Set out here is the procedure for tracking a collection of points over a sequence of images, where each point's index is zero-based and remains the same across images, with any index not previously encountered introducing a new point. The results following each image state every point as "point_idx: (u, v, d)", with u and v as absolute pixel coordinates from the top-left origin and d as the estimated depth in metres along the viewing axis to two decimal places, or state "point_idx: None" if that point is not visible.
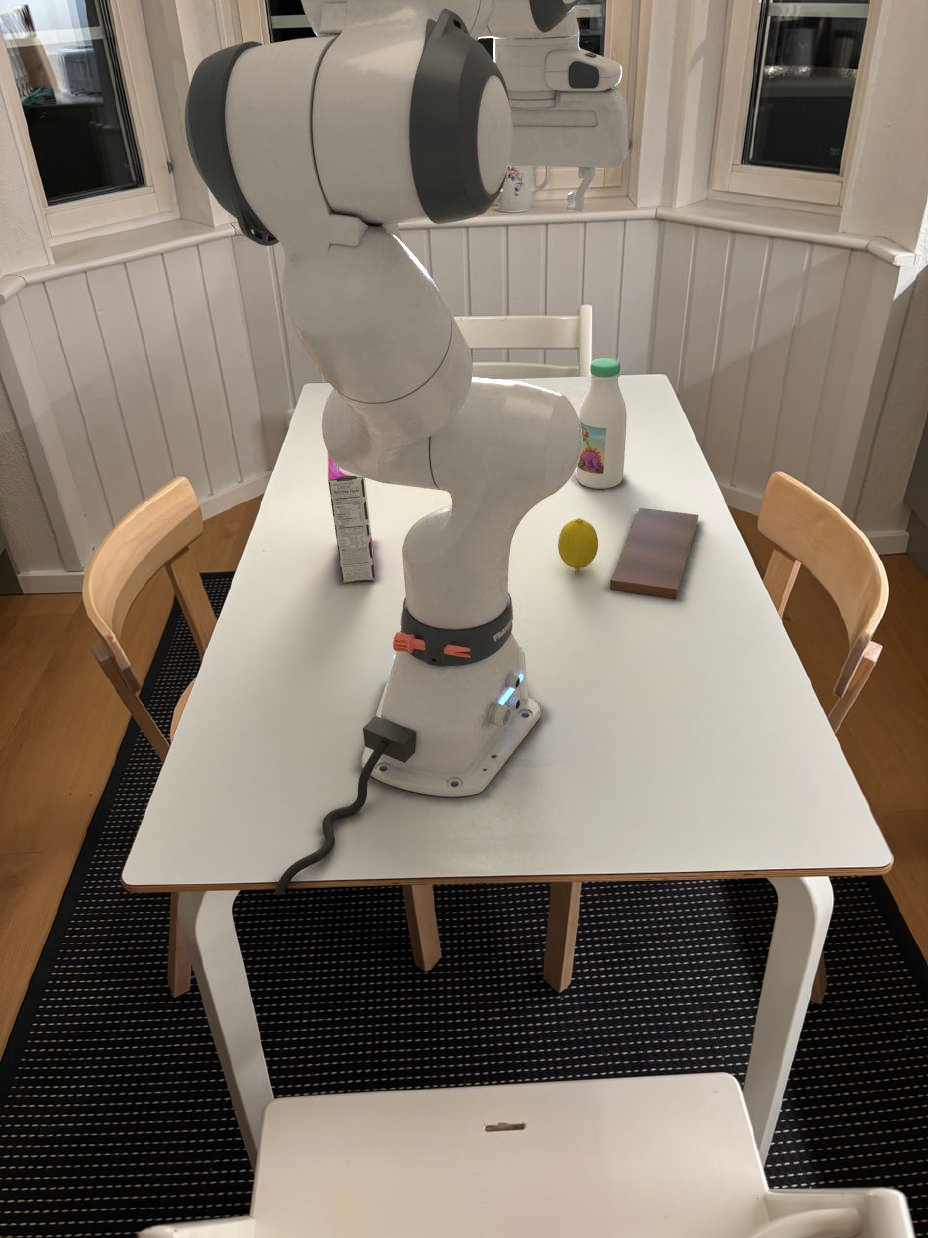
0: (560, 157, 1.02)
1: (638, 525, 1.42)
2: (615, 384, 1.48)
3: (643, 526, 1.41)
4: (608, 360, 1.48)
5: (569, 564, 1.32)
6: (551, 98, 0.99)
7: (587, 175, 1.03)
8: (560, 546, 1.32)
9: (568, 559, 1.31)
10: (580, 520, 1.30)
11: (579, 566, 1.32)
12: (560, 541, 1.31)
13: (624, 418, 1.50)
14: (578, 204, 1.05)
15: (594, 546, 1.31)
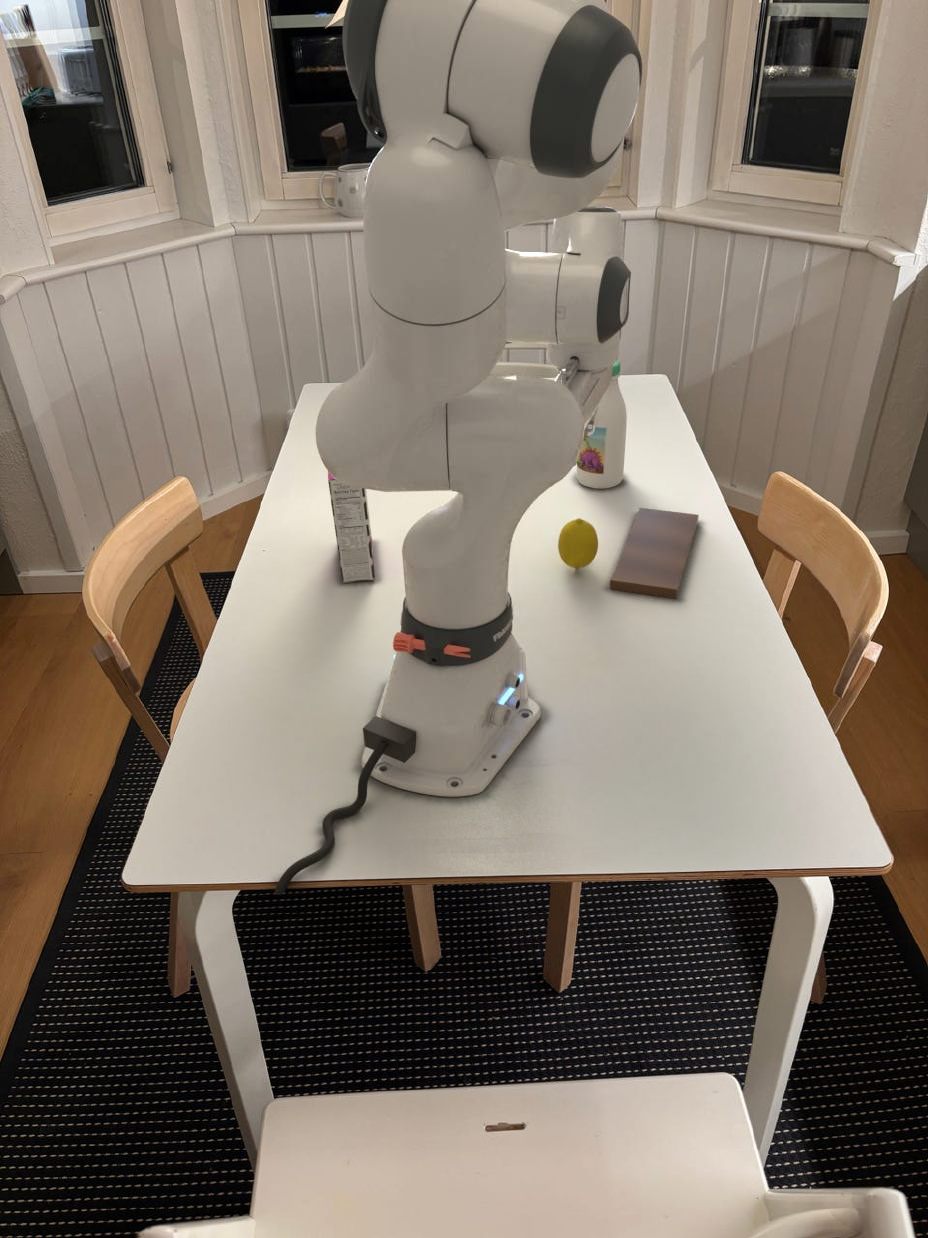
0: (600, 399, 1.24)
1: (638, 525, 1.42)
2: (615, 384, 1.48)
3: (643, 526, 1.41)
4: None
5: (569, 564, 1.32)
6: None
7: None
8: (560, 546, 1.32)
9: (568, 559, 1.31)
10: (580, 520, 1.30)
11: (579, 566, 1.32)
12: (560, 541, 1.31)
13: (624, 418, 1.50)
14: (594, 427, 1.28)
15: (594, 546, 1.31)
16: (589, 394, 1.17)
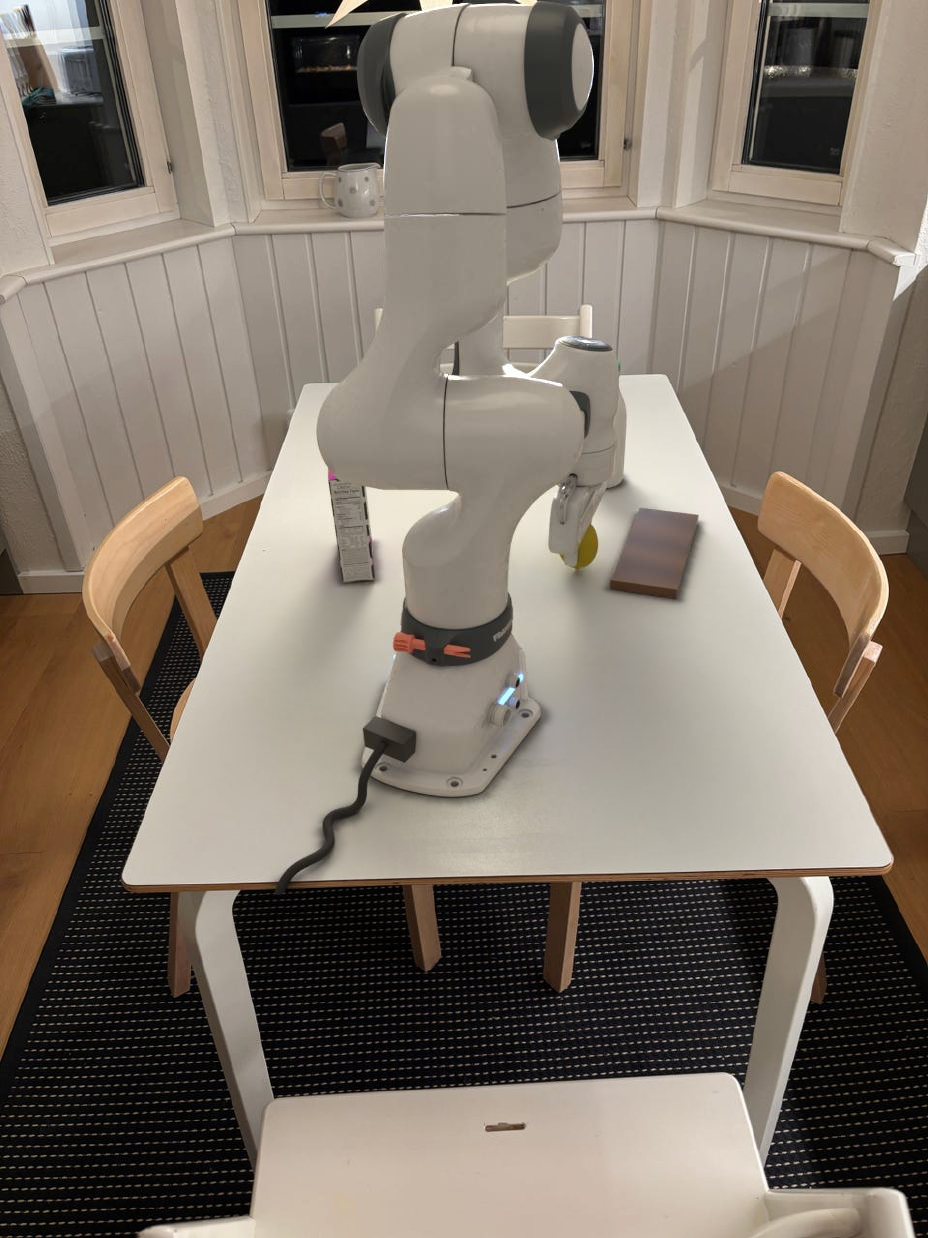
0: (597, 506, 1.32)
1: (638, 525, 1.42)
2: None
3: (643, 526, 1.41)
4: None
5: None
6: None
7: None
8: None
9: None
10: None
11: (579, 566, 1.32)
12: None
13: (624, 418, 1.50)
14: None
15: (595, 547, 1.31)
16: (587, 505, 1.26)
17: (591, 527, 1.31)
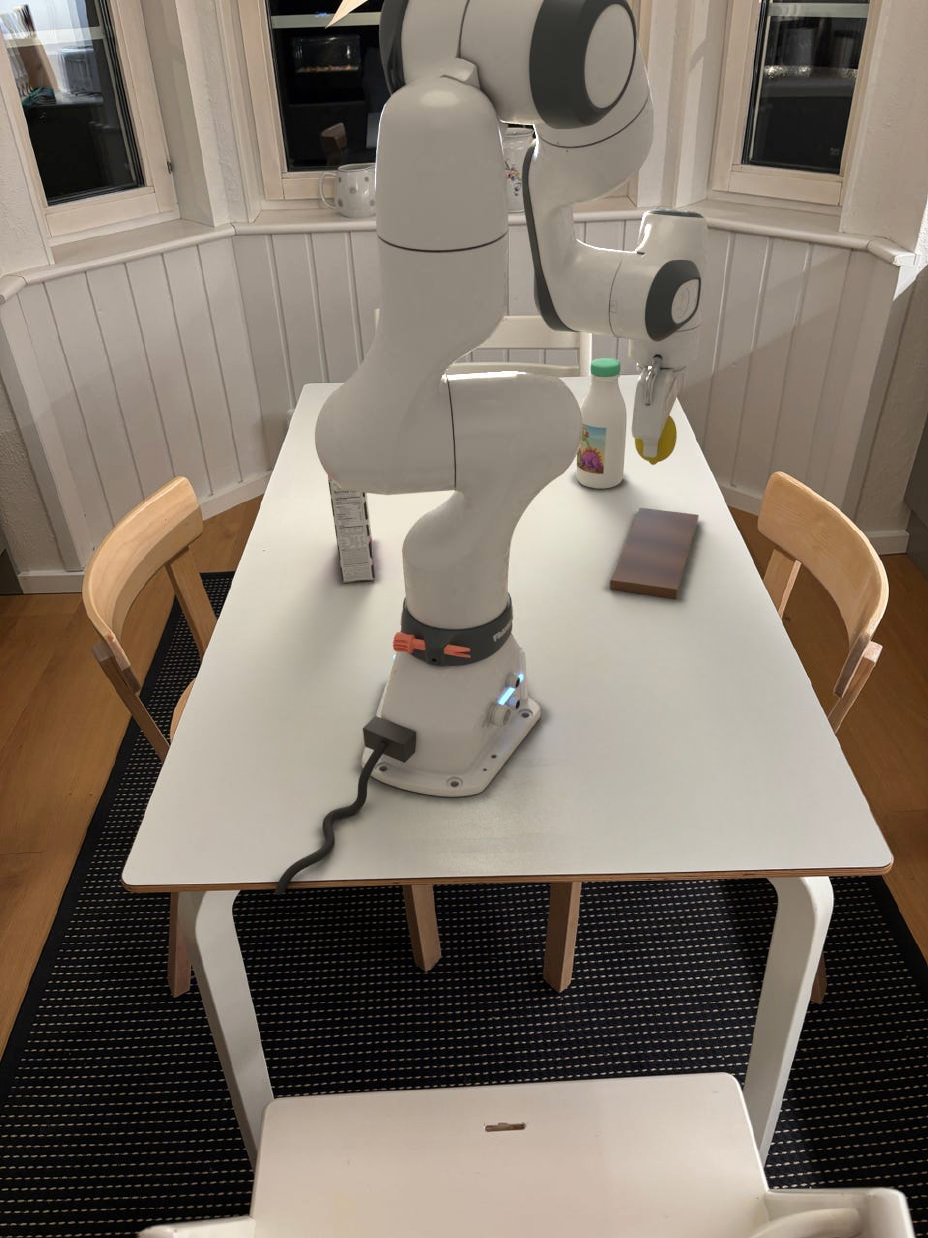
0: (675, 397, 1.28)
1: (638, 525, 1.42)
2: (616, 384, 1.48)
3: (643, 526, 1.41)
4: (608, 360, 1.48)
5: (646, 457, 1.28)
6: None
7: None
8: None
9: None
10: None
11: (657, 459, 1.28)
12: None
13: (624, 418, 1.50)
14: None
15: (674, 438, 1.27)
16: (669, 391, 1.22)
17: (670, 417, 1.26)
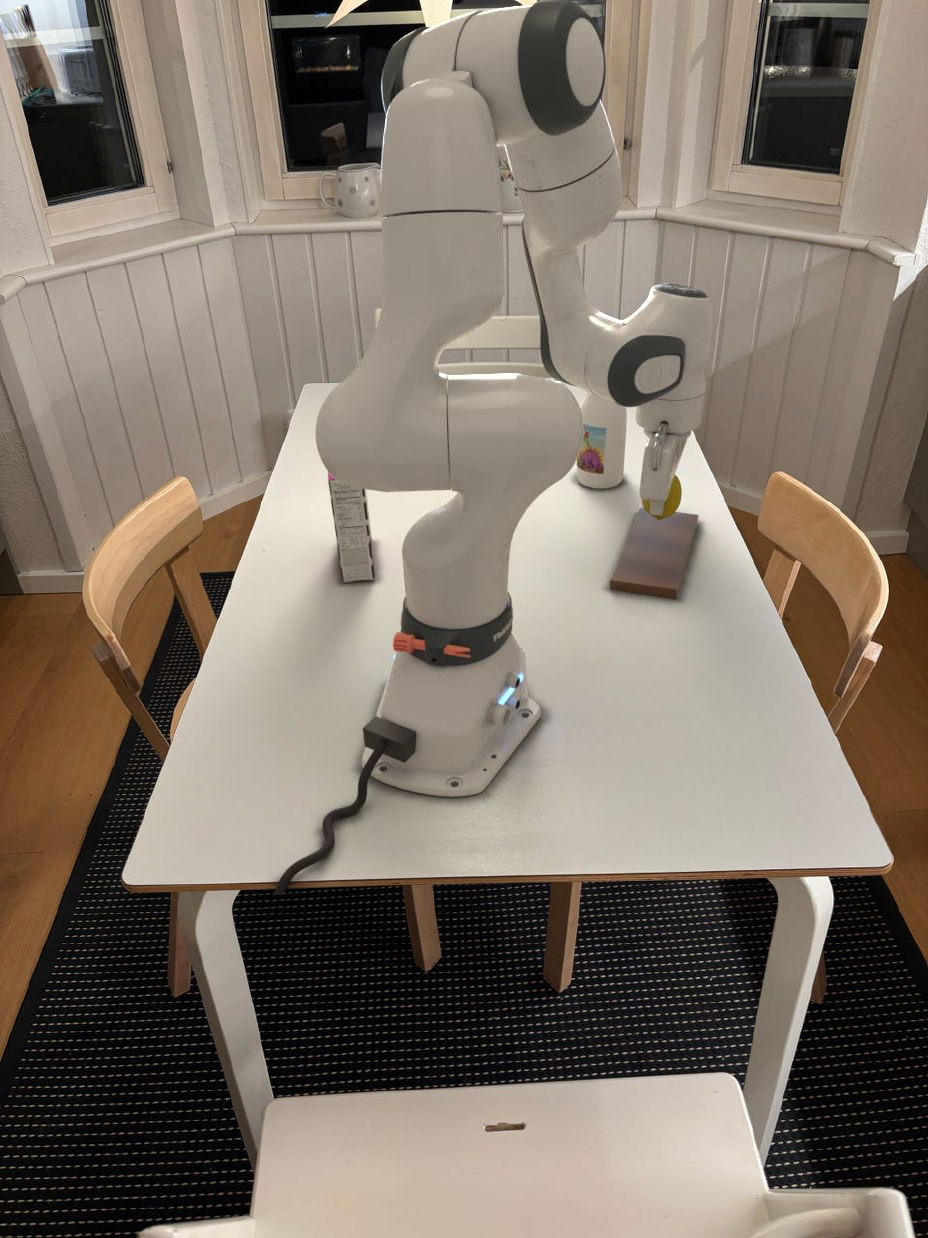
0: (680, 456, 1.34)
1: (638, 525, 1.42)
2: None
3: (643, 526, 1.41)
4: None
5: None
6: None
7: None
8: None
9: None
10: None
11: (663, 516, 1.34)
12: None
13: (624, 418, 1.50)
14: None
15: (679, 496, 1.33)
16: (675, 454, 1.28)
17: (676, 477, 1.32)
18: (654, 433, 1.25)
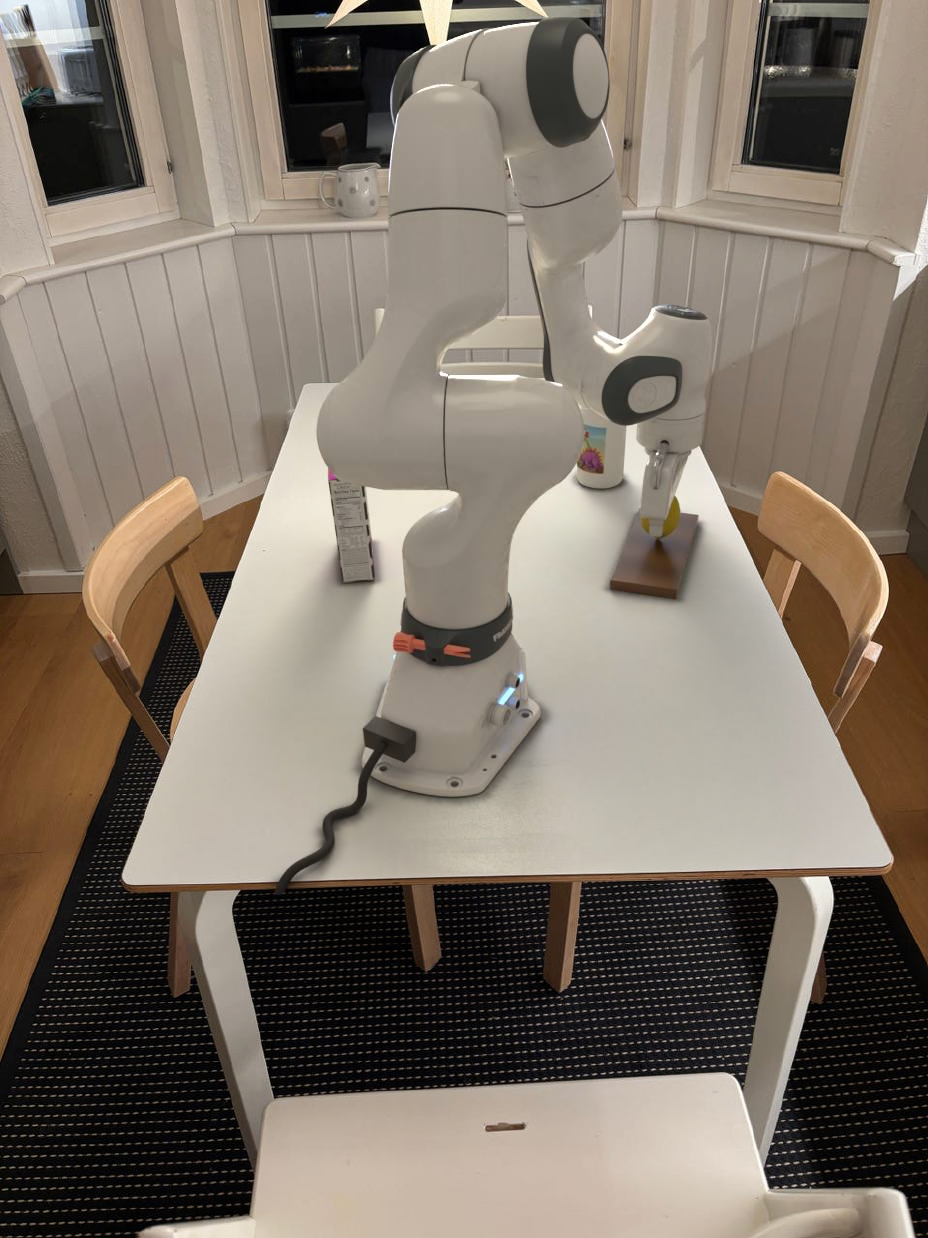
0: (681, 474, 1.35)
1: (638, 525, 1.42)
2: None
3: None
4: None
5: None
6: None
7: None
8: None
9: None
10: None
11: None
12: None
13: None
14: None
15: (677, 516, 1.34)
16: (675, 472, 1.29)
17: (674, 497, 1.34)
18: (654, 452, 1.26)
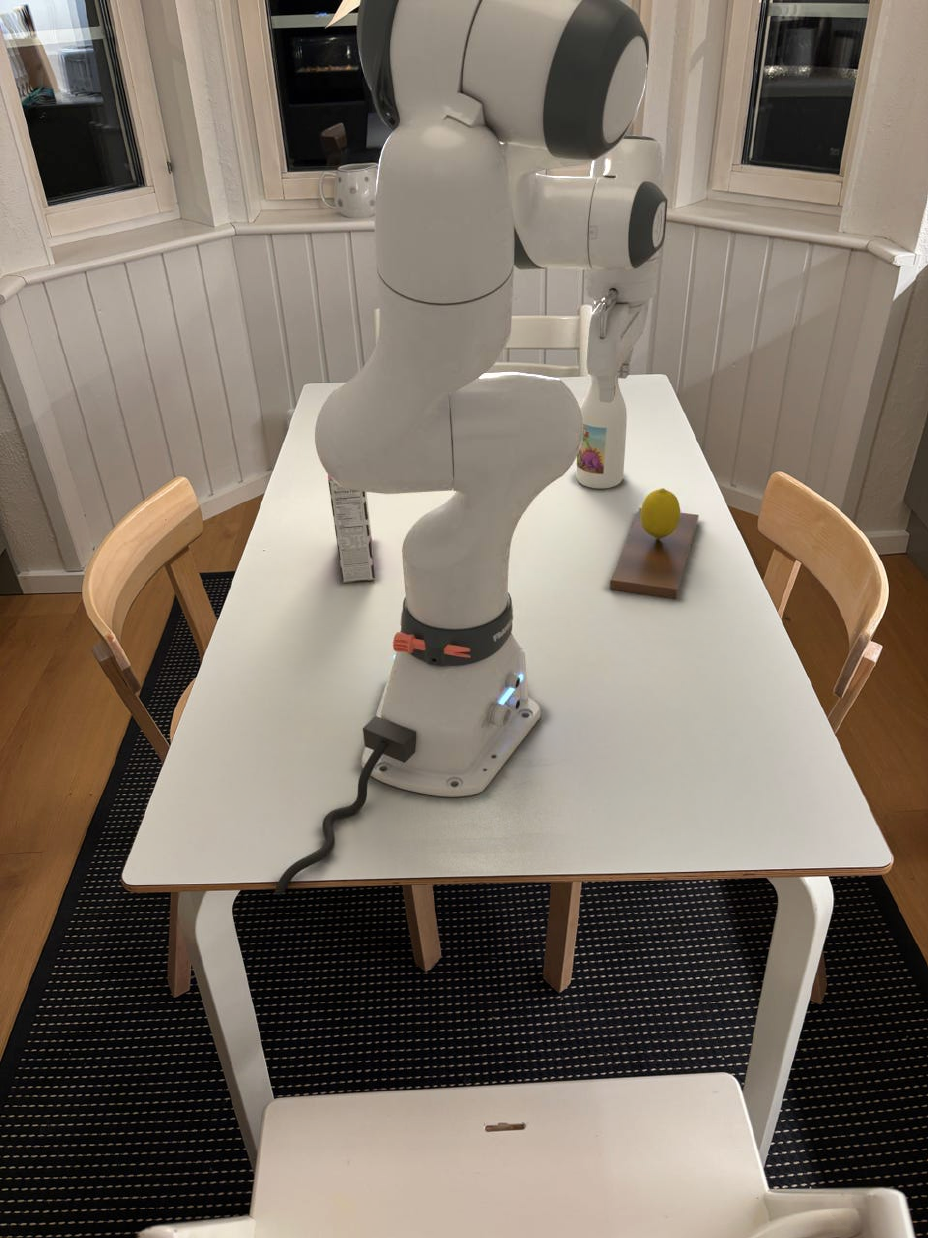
0: (635, 339, 1.24)
1: (638, 525, 1.42)
2: (616, 384, 1.48)
3: None
4: None
5: (652, 533, 1.36)
6: None
7: (633, 346, 1.28)
8: (643, 516, 1.35)
9: (652, 528, 1.35)
10: (664, 490, 1.34)
11: (661, 535, 1.36)
12: (643, 511, 1.35)
13: (624, 418, 1.50)
14: (629, 370, 1.29)
15: (677, 516, 1.34)
16: (627, 329, 1.18)
17: (674, 497, 1.34)
18: None
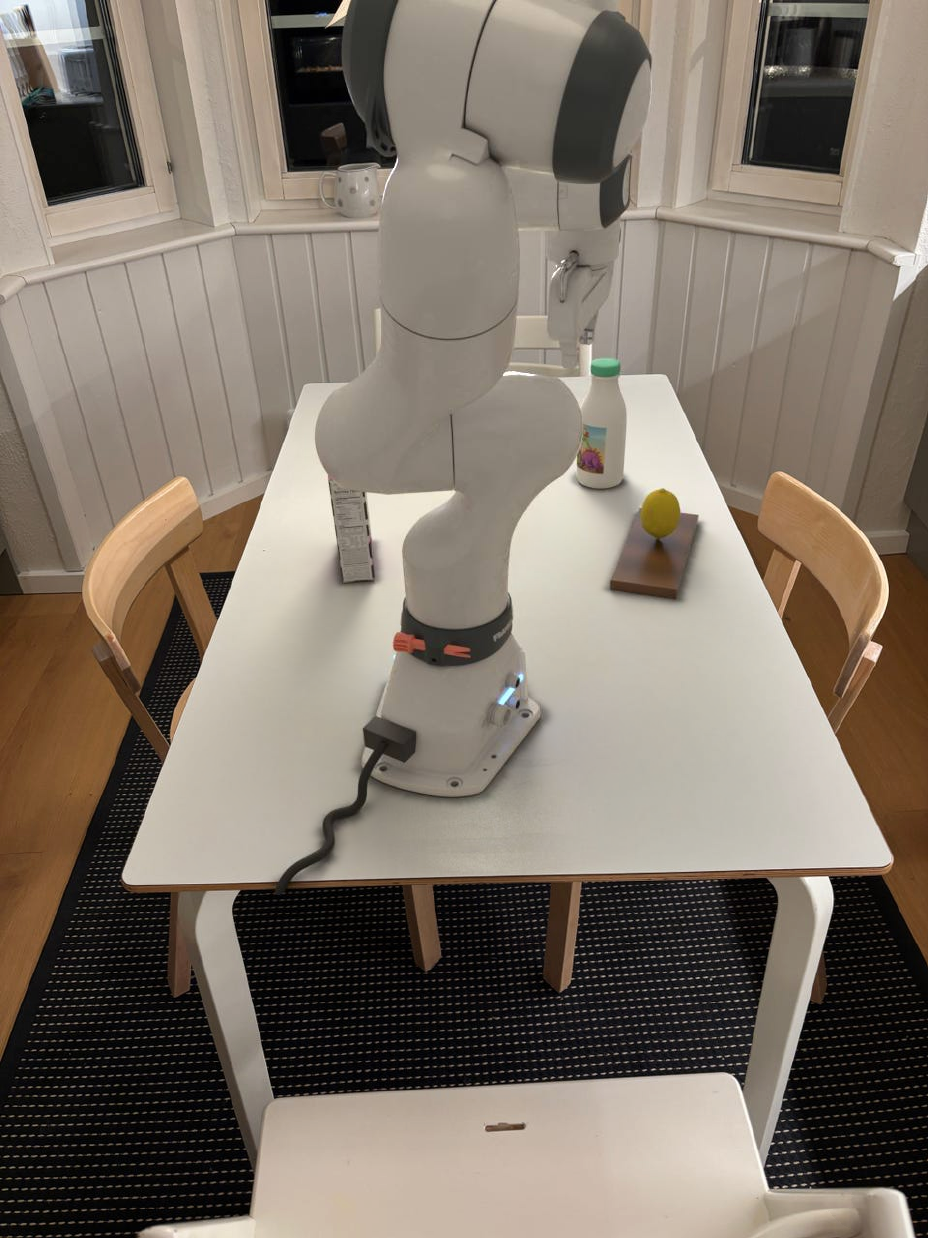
0: (599, 303, 1.22)
1: (638, 525, 1.42)
2: (616, 384, 1.48)
3: None
4: (608, 360, 1.48)
5: (652, 533, 1.36)
6: None
7: None
8: (643, 516, 1.35)
9: (652, 528, 1.35)
10: (664, 490, 1.34)
11: (661, 535, 1.36)
12: (643, 511, 1.35)
13: (624, 418, 1.50)
14: (594, 336, 1.26)
15: (677, 516, 1.34)
16: (589, 293, 1.16)
17: (674, 497, 1.34)
18: None
